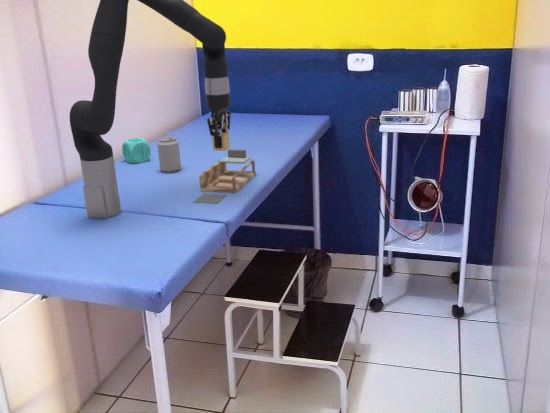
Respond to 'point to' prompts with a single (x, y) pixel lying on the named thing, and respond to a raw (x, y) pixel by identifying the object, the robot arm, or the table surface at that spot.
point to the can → (169, 154)
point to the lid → (235, 157)
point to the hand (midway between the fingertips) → (221, 146)
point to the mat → (210, 198)
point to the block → (223, 142)
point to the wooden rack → (225, 178)
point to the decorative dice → (136, 150)
